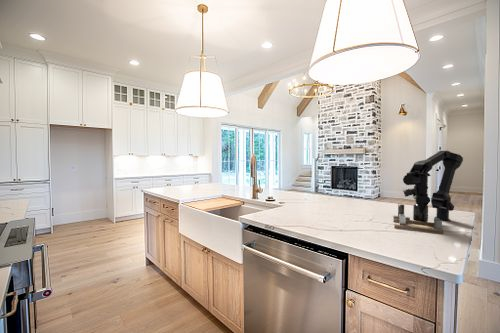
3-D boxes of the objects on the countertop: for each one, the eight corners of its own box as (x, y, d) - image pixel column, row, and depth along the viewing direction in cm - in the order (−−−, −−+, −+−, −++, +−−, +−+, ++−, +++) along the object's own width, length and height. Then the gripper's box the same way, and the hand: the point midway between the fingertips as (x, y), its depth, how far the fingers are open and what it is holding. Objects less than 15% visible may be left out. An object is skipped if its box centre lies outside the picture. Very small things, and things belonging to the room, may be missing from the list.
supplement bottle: (430, 222, 130) (431, 200, 130) (416, 221, 131) (417, 200, 131) (424, 219, 136) (424, 199, 136) (410, 219, 138) (411, 198, 138)
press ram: (397, 218, 142) (398, 204, 141) (403, 218, 140) (404, 204, 140) (399, 226, 126) (399, 210, 125) (406, 227, 124) (406, 211, 124)
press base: (393, 218, 143) (393, 210, 143) (435, 222, 133) (435, 213, 133) (394, 228, 124) (394, 218, 124) (443, 234, 114) (443, 223, 114)
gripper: (403, 181, 145) (402, 207, 146) (405, 185, 129) (404, 213, 130) (425, 182, 140) (424, 208, 140) (430, 186, 124) (429, 216, 124)
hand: (420, 211), depth 134 cm, fingers closed on supplement bottle, 7 cm apart
